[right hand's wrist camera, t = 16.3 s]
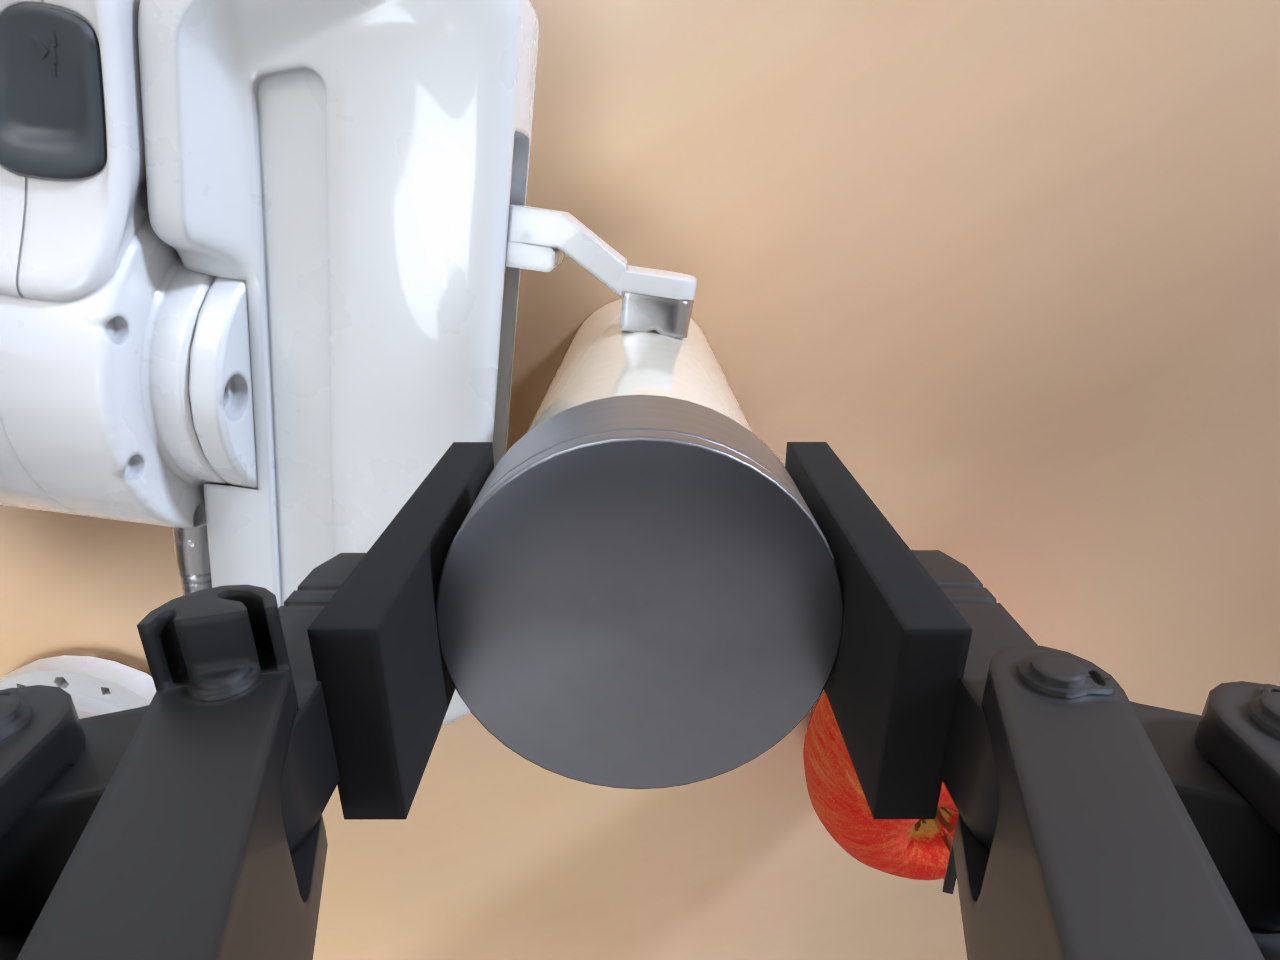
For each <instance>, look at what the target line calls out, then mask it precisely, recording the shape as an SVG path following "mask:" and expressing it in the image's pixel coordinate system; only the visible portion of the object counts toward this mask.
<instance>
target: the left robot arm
mask: <svg viewBox="0 0 1280 960" xmlns="http://www.w3.org/2000/svg"><path fill="white" fill-rule="evenodd" d="M538 40H539V23H538V19H537V16H536V13H535V11H534V9H533V7H532V5H531V3H530V1H529V0H0V505H2V506H11V507H19V508H27V509H35V510H43V511H51V512H59V513H67V514H75V515H83V516H91V517H97V518H104V519H113V520H121V521H129V522H137V523H145V524H153V525H161V526H169V527H172V534H173V544H174V553H175V560H176V565H177V570H178V574H179V577H180V580H181V585H182V591H183V596H184V595H187V594H190V593H193V592H196V591H199V590H204V589H209V588H214V587H219V586H226V585H252V586H258V587H263V588H266V589H267V590H269V591H270V592H272V593H273V594H275V595H276V600H277V604H278V608H279V607H280V606H284V601H285V600H286V599H287V598H288V597H289V596H290V595H291V593H292V592H293V591H294V590H297V589H298V588H297V587H298V586H299V584H300V583H301V582H302V581H303V580H304V579H305V578H306V577H307V576H308V574H309V573H310V572H311V571H312V570H313V569H314V568H316V567H317V566H319V565H321V564H322V563H324V562H326V561H328V560H329V559H331V558H333V557H335V556H336V555H338V554H340V553H367V552H368V551H369V549H370V548H371V547H372V546H373V544H374V543H375V542H376V540H377V539H378V538H379V537H380V535H381V534H382V533H383V531H384V530H385V529H386V528H387V526H388V525H389V524H390V523H391V521H392V520H393V519H394V517H395V516H396V515H397V514H398V512H399V511H400V510H401V509H402V507H403V506H404V505H405V503H406V502H407V501H408V500H409V498H410V497H411V496H412V494H413V493H414V492H415V491H416V489H417V488H418V487H419V486H420V484H421V483H422V482H423V480H424V479H425V478H426V477H427V475H428V474H429V473H430V472H431V470H432V469H433V468H434V466H435V465H436V464H437V463H438V461H439V460H440V459H441V457H442V456H443V455H444V454H445V452H446V451H447V450H448V449H449V447H450V446H451V445H452V443H453V442H492V445H493V457H494V468H495V466H496V465H497V463H498V462H499V461H500V459H501V458H502V457H503V456H504V455H505V454H506V452H507V440H508V427H509V414H510V401H511V389H512V376H513V363H514V350H515V337H516V324H517V311H518V299H519V286H520V273H521V269H527V270H535V271H542V272H550V271H552V270H553V269H554V268H555V267H557V266H558V265H559V264H561V263H562V262H563V254H564V253H565V254H566V255H567V256H568V257H570V258H571V259H572V260H574V261H575V262H576V263H577V264H579V265H580V266H581V267H583V268H584V269H585V270H587V271H588V272H589V273H590V274H592V275H593V276H594V277H596V278H597V279H598V280H599V281H601V282H602V283H603V284H605V285H606V286H607V287H609V288H610V289H611V290H612V291H614V292H615V293H616V294H618V295H619V296H620V297H622V293H623V300H622V309H621V318H620V327H619V330H622V331H629V332H635V333H638V332H641V333H648V332H650V331H652V330H653V329H655V330H656V331H657V332H658V333H659V334H661V335H665V336H668V337H671V338H687V334H688V329H689V323H690V318H691V313H692V307H693V302H694V295H695V289H696V283H697V280H696V278H695V277H694V276H691V275H687V274H683V273H677V272H671V271H664V270H657V269H650V268H644V267H637V266H630V265H627V259H625V258H624V257H623V256H622V255H620V254H619V253H618V252H617V251H616V250H614V249H613V248H612V247H611V246H609V245H608V244H607V243H606V242H604V241H603V240H602V239H601V238H599V237H598V236H597V235H596V234H595V233H593V232H592V231H591V230H590V229H588V228H587V227H586V226H585V225H583V224H582V223H581V222H580V221H579V220H577V219H576V218H575V217H574V216H572V215H571V214H570V213H569V212H563V211H557V210H550V209H544V208H537V207H530V206H526V196H527V183H528V170H529V157H530V144H531V131H532V119H533V106H534V93H535V80H536V67H537V54H538ZM470 712H471V711H470V710H469V709H468V707H467V706H466V704H465V703H464V701H463V700H462V699H461V697H460V696H459V694H458V692H457V690H456V689H455V691H454V694H453V697H452V699H451V702H450V705H449V707H448V710H447V712H446V715H445V718H444V720H443V723H442V726H441V727H443V726H445V725H448V724H450V723H452V722H454V721H456V720H458V719H460V718H462V717H464V716H466V715H467V714H469V713H470Z"/></svg>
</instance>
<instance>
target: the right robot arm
mask: <svg viewBox="0 0 1280 960" xmlns="http://www.w3.org/2000/svg"><path fill="white" fill-rule="evenodd" d="M785 468H786V470H787V472H788V473H789V475H790V476H791V478H792V480H793V481H794V483H795V485H796V486H797V488H798V490H799V492H800V494H801V495H802V497H803V499H804V501H805V503H806V504H807V506H808V508H809V510H810V512H811V513H812V515H813V517H814V519H815V521H816V522H817V524H818V526H819V528H820V530H821V531H822V533H823V535H824V537H825V538H826V541H827V543H828V545H829V547H830V550H831V552H832V554H833V557H834V559H835V561H836V565H837V568H838V572H839V576H840V580H841V584H842V592H843V601H844V615H843V624H842V633H841V641H840V648H839V654H838V657H837V659H836V662H835V665H834V668H833V670H832V673H831V676H830V678H829V680H828V682H827V684H826V685H825V687H824V690H825V693H826V695H827V698H828V700H829V703H830V706H831V708H832V711H833V714H834V716H835V719H836V722H837V724H838V727H839V729H840V732H841V735H842V737H843V740H844V743H845V745H846V748H847V750H848V753H849V756H850V758H851V761H852V764H853V766H854V769H855V772H856V774H857V777H858V779H859V782H860V785H861V787H862V790H863V793H864V795H865V798H866V800H867V803H868V806H869V808H870V811H871V814H872V816H873V819H935V818H936V813H937V808H938V803H939V798H940V793H941V787H942V782H943V783H944V785H945V787H946V788H947V790H948V792H949V794H950V796H951V798H952V800H953V802H954V804H955V806H956V808H957V809H958V811H959V812H958V817H957V822H956V826H955V831H954V836H953V840H952V845H951V850H950V855H949V859H948V864H947V869H946V873H945V879H944V886H943V892H946V893H950V894H953V890H954V885H955V881H956V878H957V881H958V889H959V897H960V904H961V912H962V920H963V928H964V935H965V943H966V951H967V958H968V960H1280V687H1279V686H1275V685H1270V684H1258V683H1250V682H1243V681H1241V682H1231V683H1222V684H1220V685H1218V686H1217V687H1216V688H1214V689H1213V690H1211V691H1210V693H1209V696H1208V699H1207V701H1206V704H1205V707H1204V710H1203V713H1202V716H1200V715H1195V714H1189V713H1184V712H1179V711H1174V710H1169V709H1164V708H1158V707H1153V706H1148V705H1143V704H1138V703H1134V702H1130V701H1129V699H1128V697H1127V696H1126V694H1125V692H1124V690H1123V689H1122V688H1121V686H1120V685H1119V684H1118V683H1117V682H1116V681H1115V679H1114V678H1113V677H1112V676H1111V675H1110V674H1108V673H1107V672H1105V671H1104V670H1102V669H1101V668H1099V667H1098V666H1096V665H1095V664H1093V663H1092V662H1089V661H1087V660H1085V659H1082V658H1080V657H1078V656H1075V655H1073V654H1071V653H1068V652H1065V651H1061V650H1056V649H1052V648H1048V647H1044V646H1038V645H1037V644H1036V643H1035V642H1034V641H1033V640H1032V638H1031V637H1030V636H1029V635H1028V634H1027V633H1026V632H1025V631H1024V630H1023V628H1022V627H1021V626H1020V625H1019V624H1018V623H1017V622H1016V621H1015V620H1014V619H1013V617H1012V616H1011V615H1010V614H1009V613H1008V612H1007V611H1006V610H1005V609H1004V607H1003V606H1002V605H1001V604H1000V603H996V599H995V597H994V596H993V595H992V594H991V593H990V592H989V591H988V590H987V589H986V588H983V586H982V585H983V584H982V583H981V582H980V581H979V580H978V579H977V578H976V576H975V575H974V574H973V573H972V572H971V571H970V570H969V569H968V568H967V566H965V565H963V564H962V563H960V562H958V561H956V560H955V559H953V558H951V557H949V556H948V555H946V554H944V553H942V552H941V551H939V550H910V549H909V547H908V546H907V545H906V544H905V542H904V541H903V540H902V539H901V537H900V536H899V535H898V533H897V532H896V531H895V530H894V528H893V527H892V526H891V524H890V523H889V522H888V521H887V519H886V518H885V517H884V516H883V514H882V513H881V512H880V510H879V509H878V508H877V507H876V505H875V504H874V503H873V501H872V500H871V499H870V498H869V496H868V495H867V494H866V493H865V491H864V490H863V489H862V487H861V486H860V485H859V484H858V482H857V481H856V480H855V479H854V477H853V476H852V475H851V473H850V472H849V471H848V470H847V468H846V467H845V466H844V464H843V463H842V462H841V461H840V459H839V458H838V457H837V456H836V454H835V453H834V452H833V450H832V449H831V448H830V447H829V445H828V444H827V443H826V442H787V451H786V464H785ZM493 469H494V457H493V445H492V442H453V443H452V445H451V446H450V447H449V449H448V450H447V451H446V452H445V454H444V455H443V456H442V457H441V459H440V460H439V461H438V463H437V464H436V465H435V466H434V468H433V469H432V470H431V472H430V473H429V474H428V475H427V477H426V478H425V479H424V480H423V482H422V483H421V484H420V486H419V487H418V488H417V489H416V491H415V492H414V493H413V494H412V496H411V497H410V498H409V500H408V501H407V502H406V503H405V505H404V506H403V507H402V509H401V510H400V511H399V512H398V514H397V515H396V516H395V517H394V519H393V520H392V521H391V523H390V524H389V525H388V526H387V528H386V529H385V530H384V531H383V533H382V534H381V535H380V537H379V538H378V539H377V540H376V542H375V543H374V544H373V546H372V547H371V548H370V549H369V551H368V552H367V553H340V554H338V555H336V556H335V557H333V558H331V559H329V560H328V561H326V562H324V563H322V564H321V565H319V566H317V567H316V568H314V569H313V570H312V571H311V572H310V573H309V574H308V576H307V577H306V578H305V579H304V580H303V581H302V582H301V583H300V584H299V586H298V587H297V588H298V589H297V590H294V591H293V592H292V593H291V595H290V596H289V597H288V598H287V599H286V600H285V601H284V606H280V607H279V608H278V604H277V600H276V595H275V594H273V593H272V592H270V591H269V590H267V589H266V588H263V587H258V586H252V585H226V586H219V587H214V588H209V589H204V590H199V591H196V592H193V593H190V594H187V595H184V596H182V597H179V598H176V599H173V600H171V601H169V602H167V603H166V604H164V605H162V606H160V607H159V608H157V609H155V610H153V611H151V612H150V613H149V614H148V615H147V616H146V617H145V618H144V619H143V620H142V621H141V622H140V623H139V624H138V625H137V628H138V631H139V634H140V638H141V641H142V644H143V648H144V651H145V654H146V658H147V661H148V665H149V668H150V671H151V675H152V678H153V681H154V685H155V688H156V693H155V695H154V697H153V699H152V701H151V703H150V705H147V706H143V707H139V708H133V709H128V710H123V711H118V712H113V713H108V714H102V715H97V716H92V717H87V718H82V719H79V717H78V715H77V712H76V709H75V706H74V703H73V700H72V697H71V695H70V694H69V693H67V692H66V691H64V690H63V689H61V688H60V687H55V686H45V685H33V686H26V687H18V688H8V689H4V690H0V960H313V953H314V945H315V937H316V929H317V922H318V914H319V906H320V899H321V891H322V883H323V876H324V868H325V860H326V852H327V838H326V831H325V826H324V822H323V817H322V812H323V810H324V809H325V807H326V805H327V803H328V801H329V799H330V797H331V795H332V793H333V791H334V789H335V787H336V786H337V785H338V790H339V795H340V800H341V805H342V810H343V815H344V819H406V818H407V815H408V812H409V810H410V807H411V805H412V802H413V799H414V797H415V794H416V791H417V789H418V786H419V783H420V781H421V778H422V776H423V773H424V770H425V768H426V765H427V762H428V760H429V757H430V755H431V752H432V749H433V747H434V744H435V741H436V739H437V736H438V734H439V731H440V728H441V726H442V723H443V720H444V718H445V715H446V712H447V710H448V707H449V705H450V702H451V699H452V697H453V694H454V691H455V689H456V688H455V686H454V684H453V683H452V681H451V679H450V677H449V675H448V672H447V669H446V666H445V663H444V661H443V658H442V655H441V651H440V645H439V637H438V629H437V620H436V597H437V589H438V582H439V578H440V575H441V571H442V567H443V564H444V560H445V558H446V556H447V553H448V551H449V549H450V547H451V545H452V542H453V540H454V538H455V536H456V534H457V532H458V531H459V529H460V527H461V525H462V523H463V522H464V520H465V518H466V516H467V514H468V513H469V511H470V509H471V507H472V505H473V504H474V502H475V500H476V498H477V496H478V495H479V493H480V491H481V489H482V487H483V486H484V484H485V482H486V480H487V479H488V477H489V476H490V474H491V472H492V471H493Z"/></svg>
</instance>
